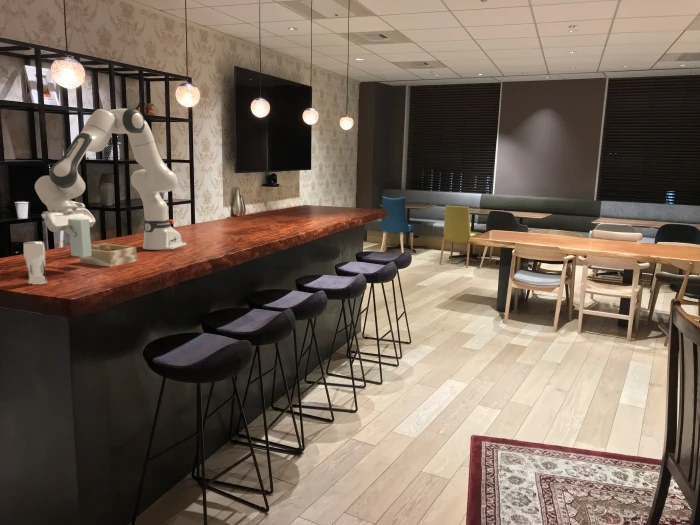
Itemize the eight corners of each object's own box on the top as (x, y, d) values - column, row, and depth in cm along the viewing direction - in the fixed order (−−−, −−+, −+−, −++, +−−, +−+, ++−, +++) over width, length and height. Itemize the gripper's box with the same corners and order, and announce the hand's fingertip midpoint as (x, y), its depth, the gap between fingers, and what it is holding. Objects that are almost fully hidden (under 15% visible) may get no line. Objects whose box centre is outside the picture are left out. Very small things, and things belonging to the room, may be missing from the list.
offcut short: (104, 249, 246) (103, 243, 245) (110, 250, 244) (110, 243, 244) (90, 252, 240) (90, 245, 239) (97, 253, 238) (96, 246, 237)
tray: (107, 259, 251) (106, 243, 250) (137, 263, 243) (136, 247, 242) (80, 264, 239) (79, 248, 237) (111, 269, 231) (109, 252, 230)
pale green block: (79, 254, 232) (76, 218, 229) (91, 255, 229) (89, 219, 227) (71, 255, 229) (68, 219, 226) (83, 257, 226) (80, 220, 223)
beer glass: (28, 285, 201) (23, 244, 198) (25, 282, 207) (21, 242, 204) (49, 283, 205) (46, 243, 202) (46, 279, 211) (43, 240, 208)
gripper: (42, 207, 219) (61, 233, 217) (86, 203, 237) (104, 227, 235) (35, 217, 222) (54, 244, 219) (80, 213, 240) (97, 237, 238)
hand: (81, 235), depth 227 cm, fingers closed on pale green block, 4 cm apart
